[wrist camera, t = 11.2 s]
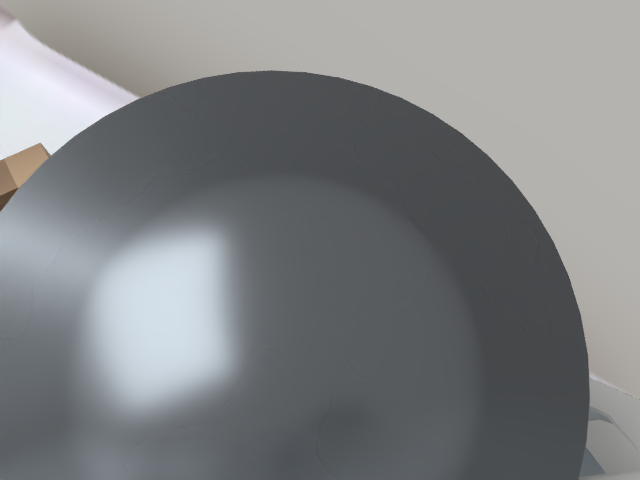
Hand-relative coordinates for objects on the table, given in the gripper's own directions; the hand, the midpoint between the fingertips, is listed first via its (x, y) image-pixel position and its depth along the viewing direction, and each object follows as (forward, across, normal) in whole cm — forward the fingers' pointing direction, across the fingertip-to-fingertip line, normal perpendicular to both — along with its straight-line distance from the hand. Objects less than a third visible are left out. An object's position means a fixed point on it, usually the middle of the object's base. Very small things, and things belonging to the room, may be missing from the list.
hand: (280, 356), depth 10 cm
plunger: (+6, 0, +6) cm, 8 cm away
